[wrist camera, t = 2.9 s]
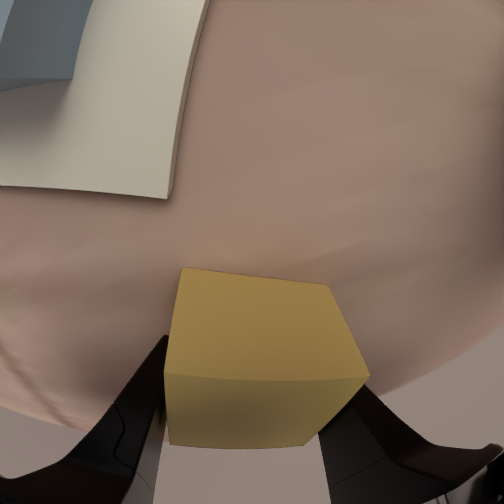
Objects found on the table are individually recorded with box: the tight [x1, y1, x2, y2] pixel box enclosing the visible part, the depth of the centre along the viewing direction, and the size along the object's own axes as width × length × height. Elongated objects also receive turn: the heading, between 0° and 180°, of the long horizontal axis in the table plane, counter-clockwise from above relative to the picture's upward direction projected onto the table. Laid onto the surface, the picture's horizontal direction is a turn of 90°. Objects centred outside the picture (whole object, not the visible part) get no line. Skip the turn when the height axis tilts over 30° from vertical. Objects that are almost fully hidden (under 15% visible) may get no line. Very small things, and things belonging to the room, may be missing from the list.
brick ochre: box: [164, 267, 371, 449], centre depth 8 cm, size 5×5×4 cm
